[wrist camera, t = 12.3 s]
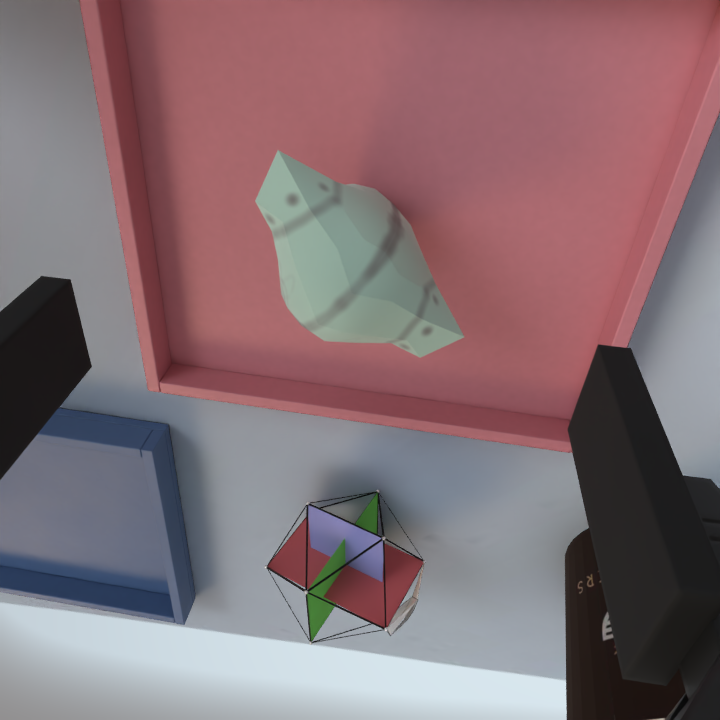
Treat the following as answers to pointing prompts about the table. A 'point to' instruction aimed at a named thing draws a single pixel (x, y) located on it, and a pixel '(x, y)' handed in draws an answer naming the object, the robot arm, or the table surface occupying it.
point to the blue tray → (97, 519)
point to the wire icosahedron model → (348, 568)
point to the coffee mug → (602, 652)
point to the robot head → (351, 262)
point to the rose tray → (404, 188)
